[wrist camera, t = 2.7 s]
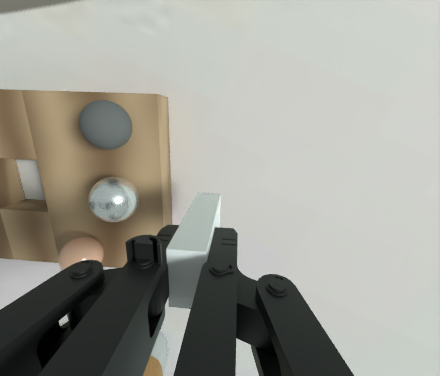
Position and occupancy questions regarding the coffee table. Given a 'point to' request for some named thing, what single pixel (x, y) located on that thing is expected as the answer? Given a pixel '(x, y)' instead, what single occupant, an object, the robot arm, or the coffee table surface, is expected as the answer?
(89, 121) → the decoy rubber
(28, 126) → the wooden flat board
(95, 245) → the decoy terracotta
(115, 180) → the steel ball
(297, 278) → the coffee table surface
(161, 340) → the coffee cup
